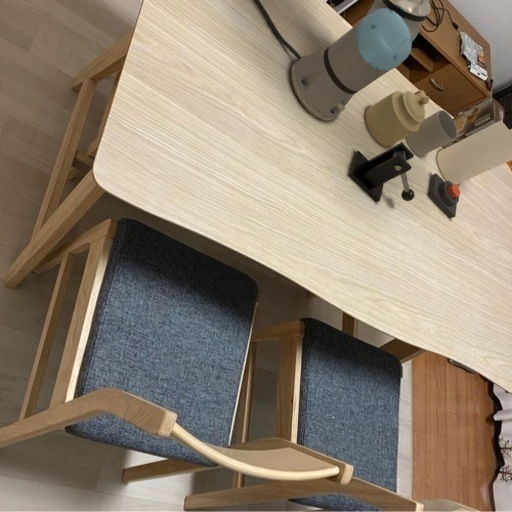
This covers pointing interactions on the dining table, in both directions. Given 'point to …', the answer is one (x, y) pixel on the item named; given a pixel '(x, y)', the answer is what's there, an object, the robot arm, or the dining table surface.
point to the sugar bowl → (396, 116)
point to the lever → (405, 181)
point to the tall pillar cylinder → (476, 153)
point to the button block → (442, 195)
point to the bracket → (379, 169)
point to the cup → (433, 133)
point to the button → (453, 191)
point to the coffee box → (477, 119)
